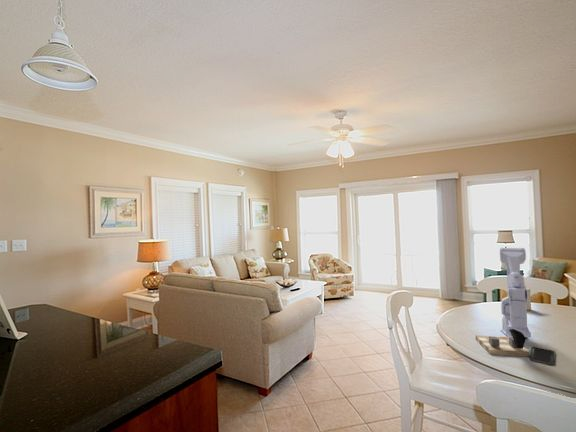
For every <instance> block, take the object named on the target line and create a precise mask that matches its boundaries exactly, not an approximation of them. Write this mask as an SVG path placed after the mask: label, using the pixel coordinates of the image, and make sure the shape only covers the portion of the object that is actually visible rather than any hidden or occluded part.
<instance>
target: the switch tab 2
mask: <svg viewBox="0 0 576 432" xmlns="http://www.w3.org/2000/svg"><path fill="white" fill-rule="evenodd" d="M509 344H510V345H511V346H512V347H516V346H515V342H514V339H513V338H512V337H509Z"/></svg>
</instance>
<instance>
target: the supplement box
mask: <svg viewBox="0 0 576 432" xmlns="http://www.w3.org/2000/svg"><path fill="white" fill-rule="evenodd" d="M526 289H527V293H528V301H527V302H526V307H527V311H530V310H532V300H531V299H532V298H531V297H532V296H531V288H529V287H526ZM525 301H526V299H525Z"/></svg>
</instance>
